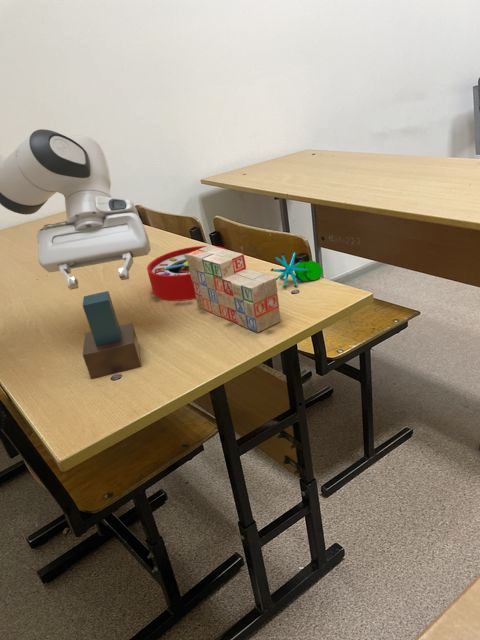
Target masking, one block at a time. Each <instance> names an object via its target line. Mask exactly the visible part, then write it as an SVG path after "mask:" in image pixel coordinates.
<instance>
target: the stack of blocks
mask: <svg viewBox="0 0 480 640" xmlns="http://www.w3.org/2000/svg"><path fill="white" fill-rule="evenodd" d="M205 246H206V247H203V248H201V249H199V250H196V251H193V252H190V253H188V254H186V258H187V262H188V266H189V271H190V275H191V279H192V282H193V287H194V291H195V296H196V299H195V301H196V304H197V307H198V308H200V309H202V310H205V311H206V312H209V313H211V314H213V315H214V316H215V315H216V316H217V317H220V318H223V319H226V320H228V321H231V322H233V323H235V324H237V325H239V326H241V327H243V328H246V329H249V330H250V331H252V332H255V333H260V332H262V331H263V330H266V329H267V328H269V327H272V326H274V325H276V324H278V323H280V322H281V321H282V319H281V312H280V311H281V310H280V302H279V296H278V285H277V284H278V283H277V280H276V278H277V277H276V276H272V275H269V274H266V273H262V272H260V271H256V270H252V269H249V268H247V265H246V259H245V254H244V253H241V252H236V251H232V250H229V249H227V250H225V249H221V248H217V247H215V246H216V245H212V244H211V245H205Z"/></svg>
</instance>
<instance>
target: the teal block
mask: <svg viewBox="0 0 480 640" xmlns="http://www.w3.org/2000/svg"><path fill="white" fill-rule="evenodd" d="M114 307H115V306H114V305H113V301H112V298H111V294H110V292H109V290H106V291H101V292H97V293H93V294H92V293H91V294H89V295H84V296H83V300H82V308H83V312H84V314H85V317H86V320H87V322H88V327H89V329H90V332H92V335H93V338H94V341H95V344H96V346H98V345H102V344H107V343H111V342H115V341H119V340H121V330H120V327H119V326H120V324H119V321H118V317H117V314H116V310H115V308H114Z"/></svg>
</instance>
